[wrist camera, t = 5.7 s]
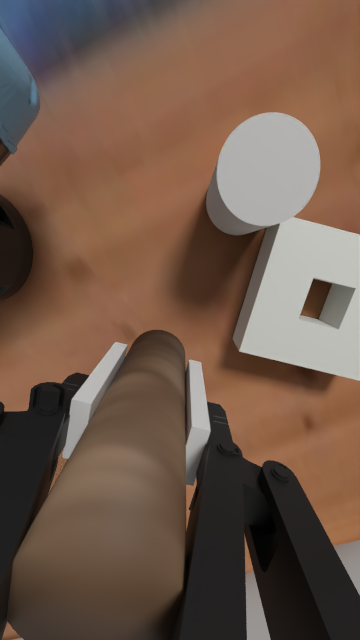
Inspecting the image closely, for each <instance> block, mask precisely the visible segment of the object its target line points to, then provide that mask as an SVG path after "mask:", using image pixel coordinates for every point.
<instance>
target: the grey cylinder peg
mask: <svg viewBox="0 0 360 640" xmlns="http://www.w3.org/2000/svg"><path fill="white" fill-rule="evenodd" d="M319 174H320V155H319V150H318V146H317V144H316V141H315V139H314V137H313V135H312V134H311V132H310V131H309V130H308V128H307V127H306V126H305V125H304V124H303V123H301V122H300V121H299V120H297V119H296V118H294V117H292V116H289V115H286V114H283V113H274V112H273V113H263V114H259V115H256V116H254V117H251V118H249V119H248V120H246V121H244V122H243V123H242V124H240V125H239V126H238V127H237V128H236V129H235V130H234V131H233V132H232V133H231V134H230V136H229V137H228V139H227V140H226V142H225V144H224V146H223V148H222V150H221V152H220V155H219V158H218V161H217V164H216V167H215V170H214V173H213V176H212V179H211V182H210V185H209V188H208V191H207V196H206V208H207V212H208V215H209V217H210V219H211V221H212V223H213V224H214V225H215V226H216V227H217V228H218V229H219V230H221V231H223V232H224V233H227V234H230V235H244V234H248V233H251V232H254V231H257V230H260V229H264V228H267V227H270V226H273V225H276V224H279V223H282V222H284V221H286V220H288V219H290V218H292V217H293V216H295V215H296V214H297V213H298V212H300V211H301V210H302V209H303V207H304V206H305V205H306V204H307V203H308V201H309V200H310V198H311V197H312V195H313V193H314V191H315V188H316V186H317V183H318V179H319Z"/></svg>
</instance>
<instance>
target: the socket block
mask: <svg viewBox="0 0 360 640" xmlns="http://www.w3.org/2000/svg"><path fill="white" fill-rule="evenodd" d="M313 279H317V280H320V281H324V282H328V283H332V286H331V288H330V291H329V293H328V296H327V298H326V301H325V304H324V306H323V309H322V311H321V314H320V316H319V319H315V318H311V317H307V316H303V315H300V313H301V311H302V308H303V305H304V303H305V300H306V297H307V294H308V292H309V289H310V286H311V284H312V281H313ZM232 339H233V341H234V343H235V345H236V346H237V348H238V350H239V352H244V353H248V354H252V355H256V356H260V357H264V358H268V359H272V360H277V361H281V362H285V363H289V364H293V365H297V366H301V367H305V368H310V369H314V370H318V371H322V372H326V373H330V374H334V375H338V376H343V377H347V378H351V379H355V380H359V381H360V235H359V234H355V233H351V232H347V231H344V230H340V229H336V228H332V227H328V226H325V225H321V224H317V223H313V222H309V221H306V220H302V219H298V218H294V217H292V218H290V219H288V220H286V221H284V222H282V223H279V224H276V225H273V226H270V227H267V228H266V232H265V235H264V238H263V241H262V244H261V248H260V251H259V254H258V257H257V261H256V264H255V267H254V270H253V273H252V277H251V280H250V283H249V286H248V289H247V293H246V296H245V299H244V302H243V306H242V309H241V312H240V315H239V318H238V322H237V325H236V328H235V331H234V335H233V338H232Z"/></svg>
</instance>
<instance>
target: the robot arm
mask: <svg viewBox="0 0 360 640" xmlns="http://www.w3.org/2000/svg"><path fill="white" fill-rule="evenodd" d="M39 109H40V96H39V91H38V88H37V85H36V83H35V80H34V79H33V77H32V75H31V73H30V72H29V70H28V68H27V67H26V65H25V64H24V62H23V61H22V59H21V58H20V56H19V55H18V53H17V52H16V50H15V49H14V47H13V46H12V44H11V43H10V41H9V40H8V39H7V37H6V36H5V34H4V33H3V31H2V30H1V28H0V166H1V165H2V163H3V162H4V161H5V160H6V159H7V158H8V156H9V155H10V154H11V153H12V154H14V153H15V152H16V151H17V147H16V146H17V145H18V143H19V142H20V140H21V139H22V137H23V136H24V134H25V133H26V131H27V130H28V128H29V127H30V126H31V124H32V123H33V122H34V120H35V119H36V117H37V115H38V113H39ZM32 256H33V251H32V242H31V238H30V234H29V231H28V229H27V226H26V224H25V222H24V220H23V219H22V217H21V215H20V214H19V212H18V211H17V210H16V209H15V207H14V206H13V205H12V204H11V203H10V202H9V201H8V200H7V199H6V198H4V197H3V196H2V195H0V301H1V300H3V299H6V298H8V297H10V296H11V295H13V294H14V293H15V292H17V291H18V290H19V289H20V288H21V286H22V285H23V284H24V282H25V281H26V279H27V277H28V275H29V272H30V269H31V265H32ZM126 349H127V345H126V344H122V343H118V342H115V343H114V344H113V346H112V347H111V348H110V350H109V351H108V352H107V354H106V355H105V356H104V358H103V359H102V360H101V361H100V363H99V364H98V365H97V367H96V368H95V369H94V371H93V372H92V373H91V375H90V376H89V375H85V374H81V373H75V374H72V375H70V376H68V377H67V378H66V379H65V380H64V382H63V383H62V384H60V383H55V382H46V383H40V384H38V385H36V386H34V387H33V388H32V389H31V393H30V402H29V409H28V410H27V411H20V412H4V405H3V404H2V402H0V640H1V639H2V636H3V633H4V630H5V627H6V624H7V621H8V620H7V619H6V618H7V610H8V601H9V592H10V584H11V575H12V567H13V560H14V558H15V556H16V554H17V551H18V549H19V547H20V545H21V543H22V541H23V539H24V537H25V536H26V534H27V532H28V530H29V528H30V527H31V525H32V523H33V521H34V519H35V518H36V516H37V514H38V512H39V511H40V509H41V507H42V505H43V503H44V502H45V500H46V498H47V496H48V493H49V489H50V486H51V483H52V480H53V477H54V474H55V471H56V468H57V463H58V457H59V455H60V453H61V451H62V450H63V448H64V450H63V457H62V458H66V459H69V457H70V455H71V453H72V452H73V450H74V448H75V446H76V444H77V443H78V441H79V439H80V437H81V435H82V434H83V432H84V430H85V428H86V427H87V425H88V423H89V421H90V419H91V418H92V416H93V414H94V412H95V410H96V409H97V407H98V405H99V403H100V402H101V400H102V398H103V396H104V394H105V393H106V391H107V389H108V387H109V385H110V384H111V382H112V380H113V378H114V377H115V375H116V373H117V371H118V369H119V368H120V366H121V364H122V362H123V360H124V359H125V354H126ZM185 398H186V484H187V485H192V486H193V485H194V481H195V478H197V486H196V489H195V492H194V495H193V498H192V501H191V504H190V507H189V510H191V511H190V516H189V521H188V526H187V532H186V583H185V592H184V596H183V599H182V602H181V605H180V608H179V611H178V613H177V616H176V619H175V622H174V625H173V627H172V630H171V633H170V636H169V639H168V640H247V631H246V586H245V542H244V533H245V537H246V541H247V545H248V549H249V553H250V557H251V561H252V566H253V570H254V573H255V578H256V582H257V586H258V590H259V594H260V597H261V601H262V606H263V610H264V614H265V618H266V622H267V626H268V630H269V634H270V638H271V640H360V595H359V594H358V592H357V590H356V588H355V586H354V584H353V582H352V580H351V579H350V577H349V575H348V573H347V571H346V569H345V567H344V565H343V564H342V562H341V560H340V558H339V556H338V554H337V552H336V551H335V549H334V547H333V545H332V543H331V541H330V539H329V537H328V536H327V534H326V532H325V530H324V528H323V526H322V524H321V522H320V521H319V519H318V517H317V515H316V513H315V511H314V509H313V507H312V506H311V504H310V502H309V500H308V498H307V496H306V494H305V492H304V491H303V489H302V487H301V485H300V483H299V481H298V479H297V477H296V476H295V475H294V473H293V472H292V471H291V470H290V469H289V468H288V467H286V466H285V465H283V464H281V463H279V462H276V461H266V462H264V464H263V466H262V467H260V466H258V465H256V464H254V463H251V462H250V461H248V460H246V459H245V458H243V455H242V452H241V450H240V448H239V447H238V446H237V445H236V444H235V443H233V441H232V437H231V433H230V429H229V425H228V421H227V417H226V413H225V411H224V409H223V408H222V407H221V406H220V405H219V404H215V403H210V402H207V401H206V394H205V387H204V380H203V373H202V366H201V362H198V361H194V360H190V359H189V362H188V365H187V369H186V373H185Z"/></svg>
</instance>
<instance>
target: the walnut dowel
mask: <svg viewBox="0 0 360 640" xmlns="http://www.w3.org/2000/svg"><path fill="white" fill-rule="evenodd" d="M185 583H186V398H185V351H184V347H183V345H182V343H181V342H180V341H179V339H178V338H177V337H175V336H174V335H173V334H171V333H169V332H166V331H163V330H151V331H147V332H145V333H143V334H141V335H140V336H139V337H138V338H137V339H136V340H135V341H134V343H133V344H132V346H131V348H130V350H129V352H128V353H127V355H126V357H125V359H124V360H123V362H122V364H121V366H120V368H119V369H118V371H117V373H116V375H115V377H114V378H113V380H112V382H111V384H110V385H109V387H108V389H107V391H106V393H105V394H104V396H103V398H102V400H101V402H100V403H99V405H98V407H97V409H96V410H95V412H94V414H93V416H92V418H91V419H90V421H89V423H88V425H87V427H86V428H85V430H84V432H83V434H82V435H81V437H80V439H79V441H78V443H77V444H76V446H75V448H74V450H73V452H72V453H71V455H70V457H69V459H68V461H67V462H66V464H65V466H64V468H63V469H62V471H61V473H60V475H59V477H58V478H57V480H56V482H55V484H54V486H53V487H52V489H51V491H50V493H49V494H48V496H47V498H46V500H45V502H44V503H43V505H42V507H41V509H40V511H39V512H38V514H37V516H36V518H35V519H34V521H33V523H32V525H31V527H30V528H29V530H28V532H27V534H26V536H25V537H24V539H23V541H22V543H21V545H20V547H19V549H18V551H17V554H16V556H15V558H14V560H13V567H12V575H11V584H10V592H9V601H8V610H7V618H6V619H7V620H8V622H9V624H10V625H11V626H12V628H13V629H14V630H15V631H16V632H17V633H18V634H19V635H20V636H21V637H22V638H23V639H24V640H168V639H169V636H170V633H171V630H172V627H173V625H174V622H175V619H176V616H177V613H178V611H179V608H180V605H181V602H182V599H183V596H184V592H185Z"/></svg>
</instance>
